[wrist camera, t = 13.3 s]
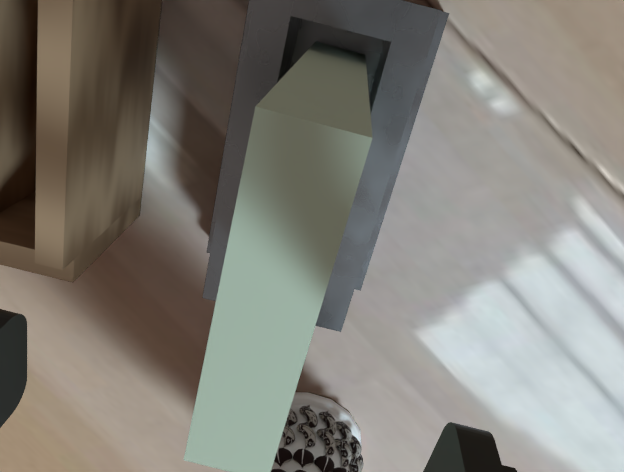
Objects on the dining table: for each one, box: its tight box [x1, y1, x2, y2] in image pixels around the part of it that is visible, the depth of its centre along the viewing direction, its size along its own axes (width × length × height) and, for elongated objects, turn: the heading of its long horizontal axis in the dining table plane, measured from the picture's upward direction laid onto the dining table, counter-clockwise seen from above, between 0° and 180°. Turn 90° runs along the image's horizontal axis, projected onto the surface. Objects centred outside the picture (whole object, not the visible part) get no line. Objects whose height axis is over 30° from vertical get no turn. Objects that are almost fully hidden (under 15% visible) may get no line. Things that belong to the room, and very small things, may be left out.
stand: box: [203, 0, 449, 332], centre depth 26 cm, size 15×9×6 cm, turn 167°
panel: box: [184, 41, 373, 472], centre depth 20 cm, size 10×2×16 cm, turn 166°
